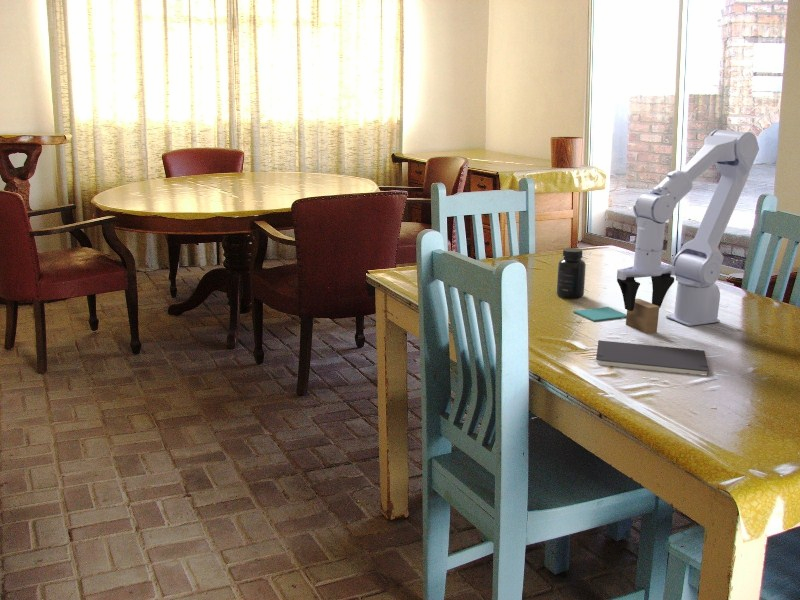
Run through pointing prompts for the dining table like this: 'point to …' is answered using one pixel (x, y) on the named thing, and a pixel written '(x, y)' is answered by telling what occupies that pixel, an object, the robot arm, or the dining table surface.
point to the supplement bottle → (571, 274)
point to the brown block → (643, 317)
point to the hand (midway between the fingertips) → (642, 308)
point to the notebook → (652, 357)
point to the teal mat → (600, 314)
